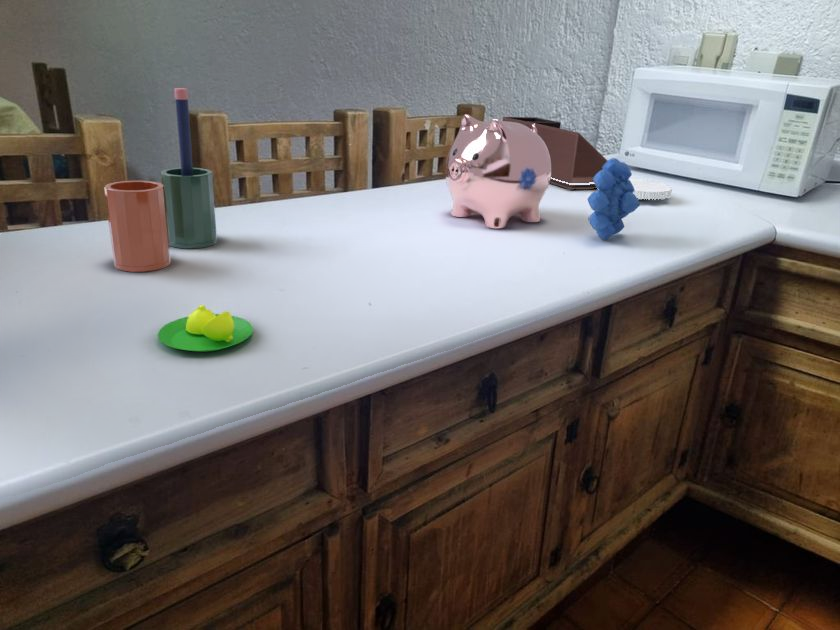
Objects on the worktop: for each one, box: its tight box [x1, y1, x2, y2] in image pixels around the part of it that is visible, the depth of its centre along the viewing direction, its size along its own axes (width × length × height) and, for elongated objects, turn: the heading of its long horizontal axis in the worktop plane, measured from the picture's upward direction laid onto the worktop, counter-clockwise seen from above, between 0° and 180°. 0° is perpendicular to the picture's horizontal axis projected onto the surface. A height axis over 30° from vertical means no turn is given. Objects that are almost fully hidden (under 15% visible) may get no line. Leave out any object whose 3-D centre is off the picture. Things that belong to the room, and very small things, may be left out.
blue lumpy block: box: [587, 157, 640, 240], centre depth 95 cm, size 12×7×12 cm, turn 140°
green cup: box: [160, 167, 217, 250], centre depth 83 cm, size 6×6×9 cm
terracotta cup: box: [103, 180, 172, 273], centre depth 74 cm, size 6×6×9 cm
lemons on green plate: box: [157, 304, 254, 353], centre depth 58 cm, size 8×8×3 cm
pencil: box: [173, 87, 194, 176], centre depth 81 cm, size 1×1×18 cm
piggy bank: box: [444, 113, 552, 230], centre depth 103 cm, size 15×18×16 cm
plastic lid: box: [629, 177, 673, 201], centre depth 129 cm, size 14×14×2 cm
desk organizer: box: [501, 116, 609, 191], centre depth 144 cm, size 10×29×11 cm, turn 25°
